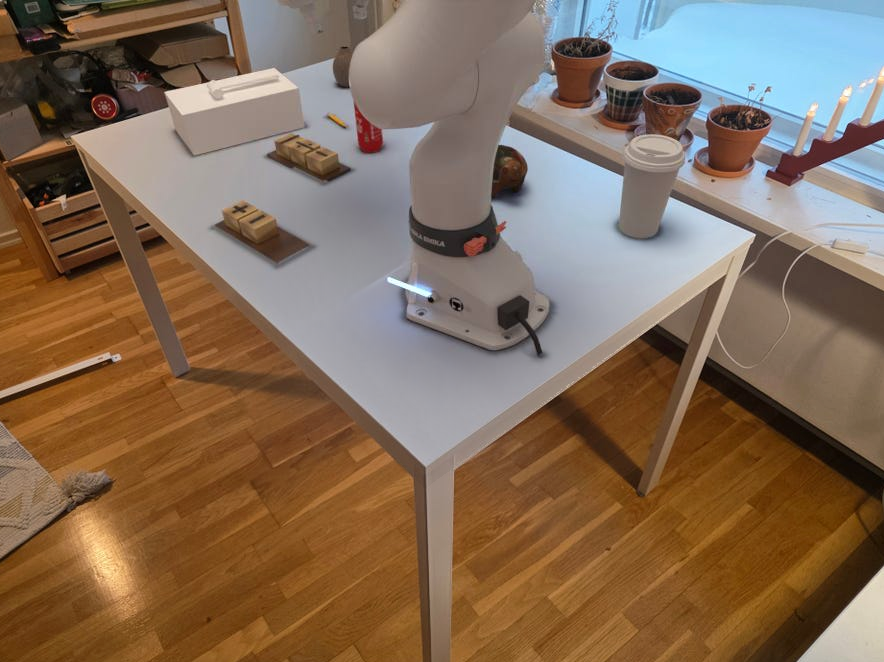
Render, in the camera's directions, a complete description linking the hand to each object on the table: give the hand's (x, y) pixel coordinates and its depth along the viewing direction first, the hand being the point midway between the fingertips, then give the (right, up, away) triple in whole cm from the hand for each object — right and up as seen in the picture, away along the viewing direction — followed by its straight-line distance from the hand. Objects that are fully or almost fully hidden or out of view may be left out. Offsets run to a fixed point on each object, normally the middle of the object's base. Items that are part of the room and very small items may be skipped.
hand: (339, 25), depth 103 cm
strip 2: (-10, -13, +29) cm, 33 cm away
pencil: (-6, 0, +42) cm, 43 cm away
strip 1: (-15, -32, +9) cm, 36 cm away
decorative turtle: (+28, -21, +20) cm, 40 cm away
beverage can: (+2, -9, +33) cm, 34 cm away
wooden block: (-11, -13, +28) cm, 33 cm away
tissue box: (-28, -2, +41) cm, 50 cm away
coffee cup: (+50, -31, +8) cm, 60 cm away
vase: (-6, +16, +59) cm, 61 cm away
